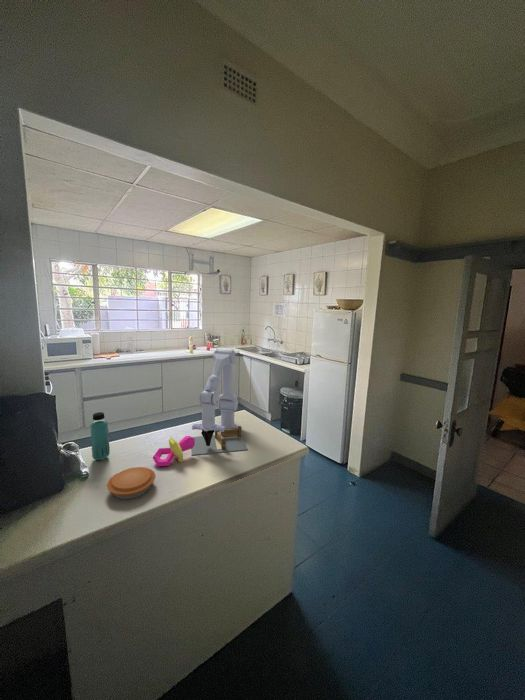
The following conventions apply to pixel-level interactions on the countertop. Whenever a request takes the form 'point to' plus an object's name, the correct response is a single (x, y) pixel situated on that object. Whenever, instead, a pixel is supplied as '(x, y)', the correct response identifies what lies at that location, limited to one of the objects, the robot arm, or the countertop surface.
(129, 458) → the countertop surface
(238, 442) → the card
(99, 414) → the beverage bottle
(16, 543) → the countertop surface
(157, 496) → the countertop surface
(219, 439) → the fence hinged
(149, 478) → the pie
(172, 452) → the toy
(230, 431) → the fence fixed
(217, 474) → the countertop surface
